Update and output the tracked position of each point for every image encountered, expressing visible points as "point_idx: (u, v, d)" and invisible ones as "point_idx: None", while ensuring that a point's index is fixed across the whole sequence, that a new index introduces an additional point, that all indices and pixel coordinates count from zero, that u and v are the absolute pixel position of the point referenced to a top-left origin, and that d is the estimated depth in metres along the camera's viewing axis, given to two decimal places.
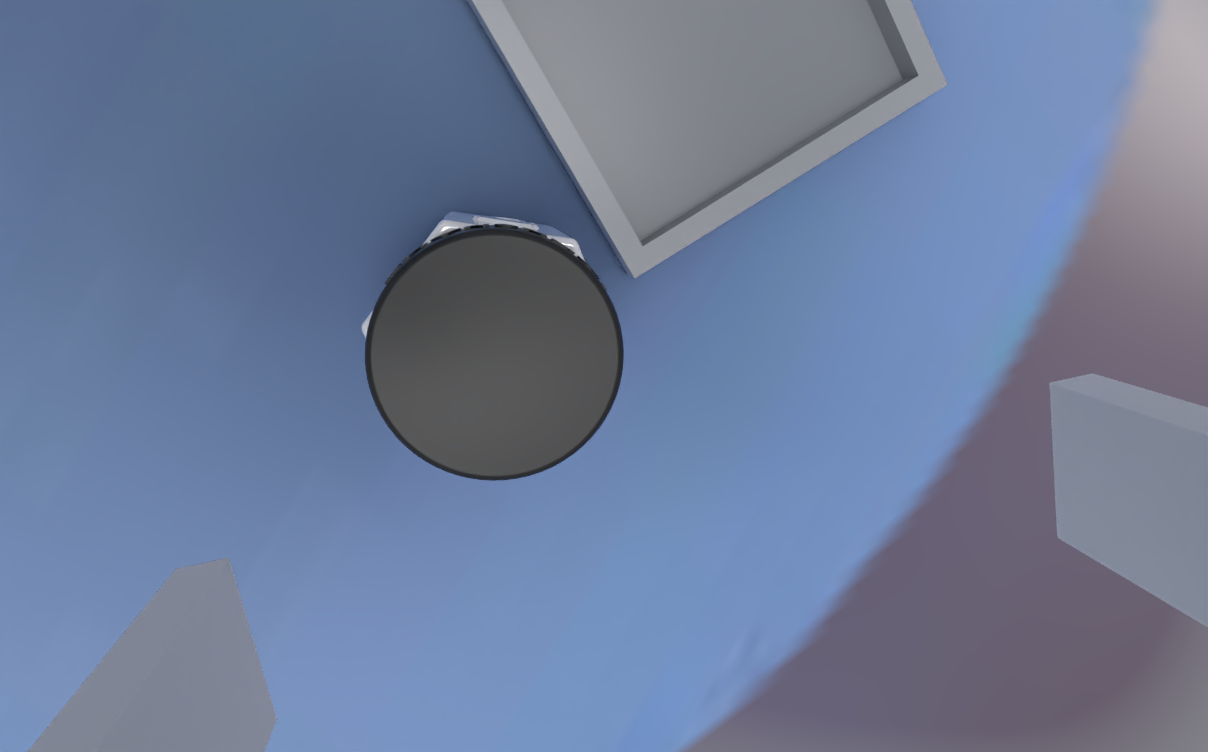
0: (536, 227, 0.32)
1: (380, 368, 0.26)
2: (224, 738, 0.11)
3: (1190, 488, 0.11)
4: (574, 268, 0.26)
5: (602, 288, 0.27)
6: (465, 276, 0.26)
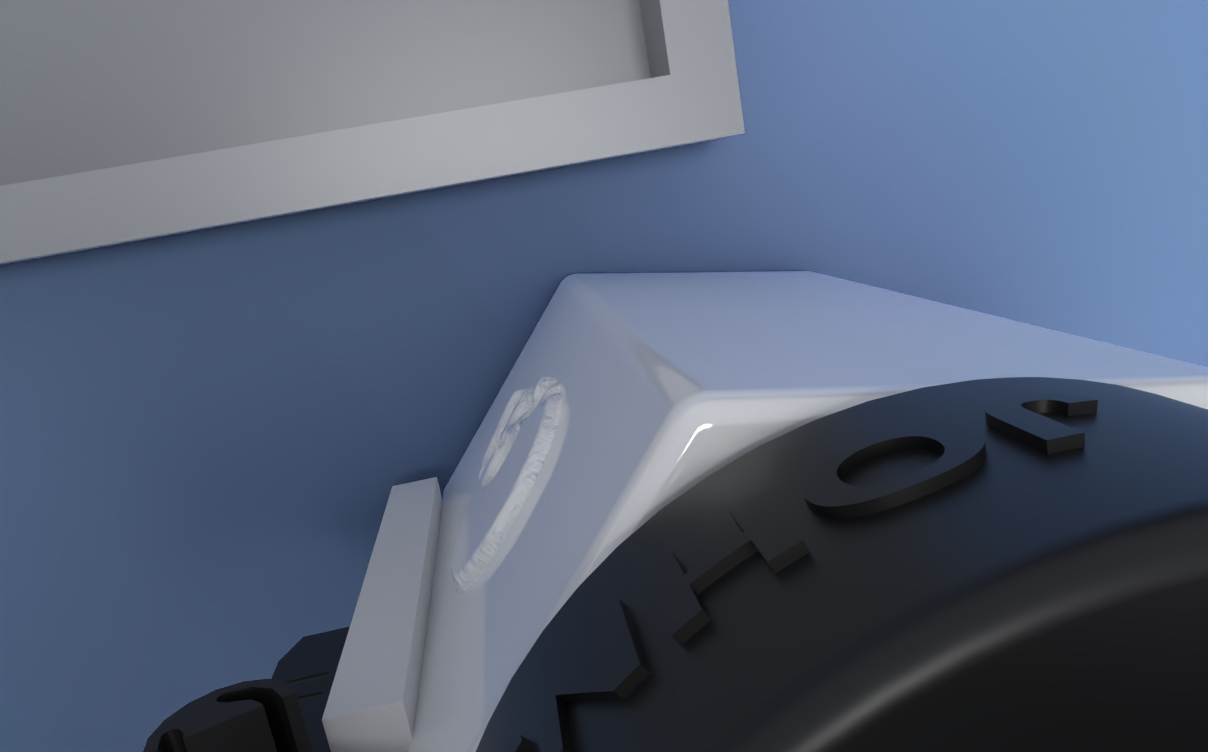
0: (556, 410, 0.09)
1: None
2: None
3: None
4: (963, 695, 0.03)
5: (1173, 536, 0.04)
6: None
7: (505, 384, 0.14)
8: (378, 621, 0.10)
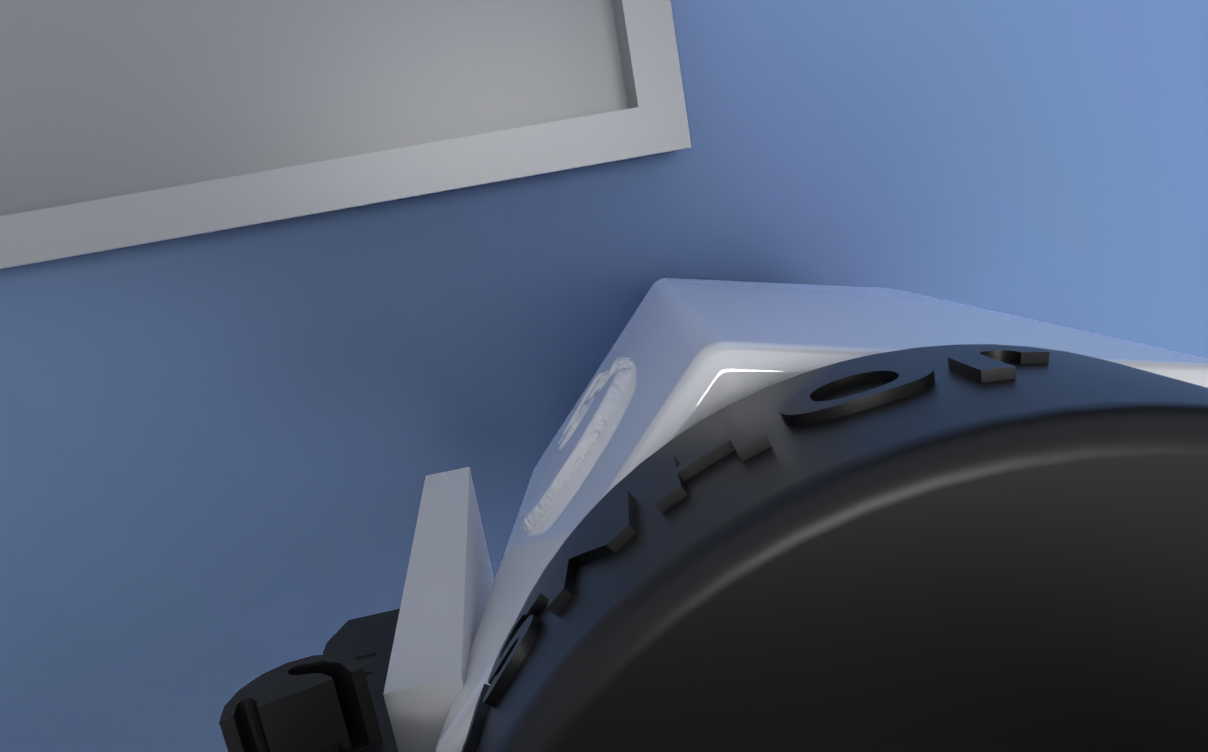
0: (623, 380, 0.10)
1: None
2: None
3: None
4: (856, 536, 0.04)
5: (1044, 428, 0.04)
6: None
7: (595, 375, 0.16)
8: (427, 602, 0.10)
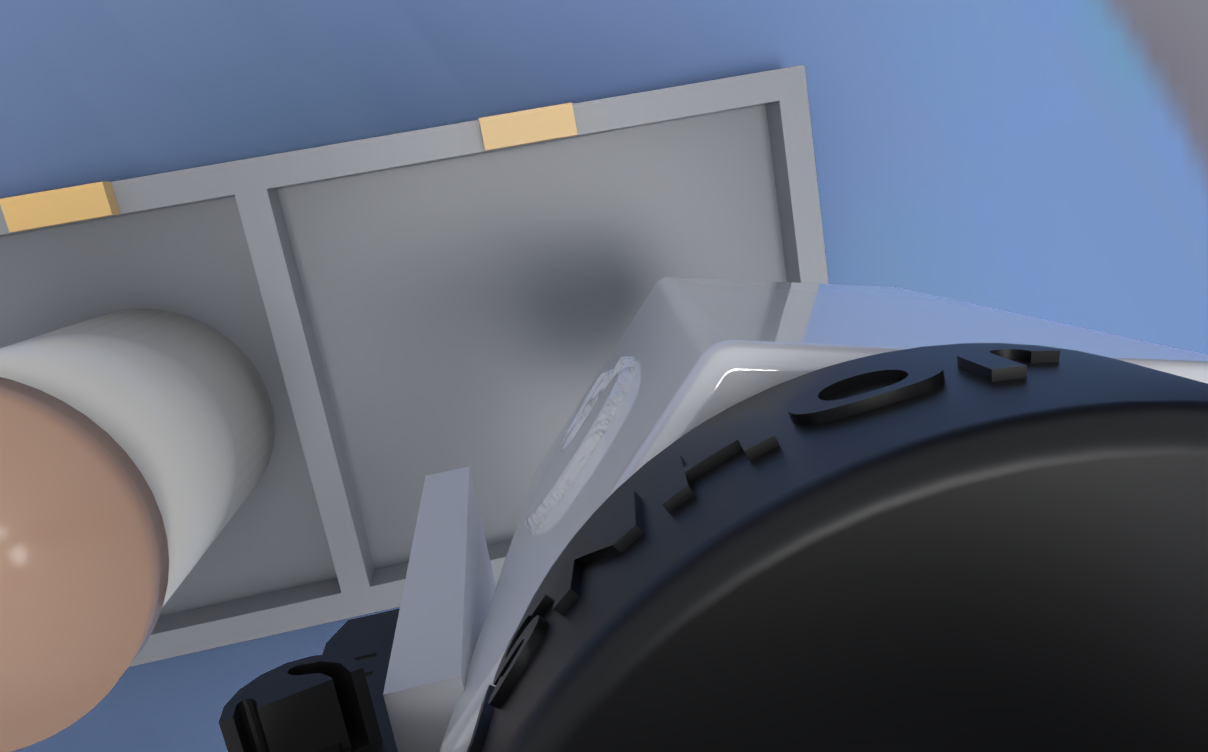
0: (627, 379, 0.10)
1: None
2: None
3: None
4: (867, 536, 0.04)
5: (1056, 427, 0.04)
6: None
7: (598, 374, 0.16)
8: (427, 602, 0.10)
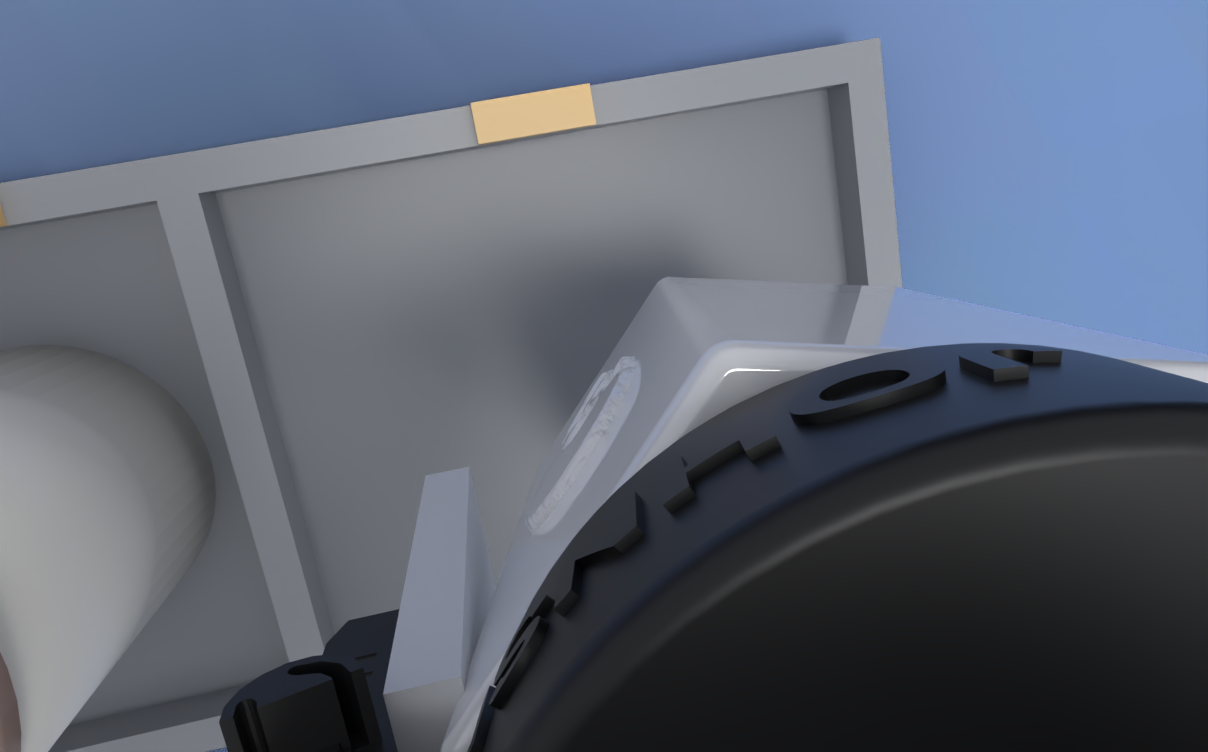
0: (627, 379, 0.10)
1: None
2: None
3: None
4: (869, 537, 0.04)
5: (1059, 428, 0.04)
6: None
7: (598, 374, 0.16)
8: (427, 602, 0.10)
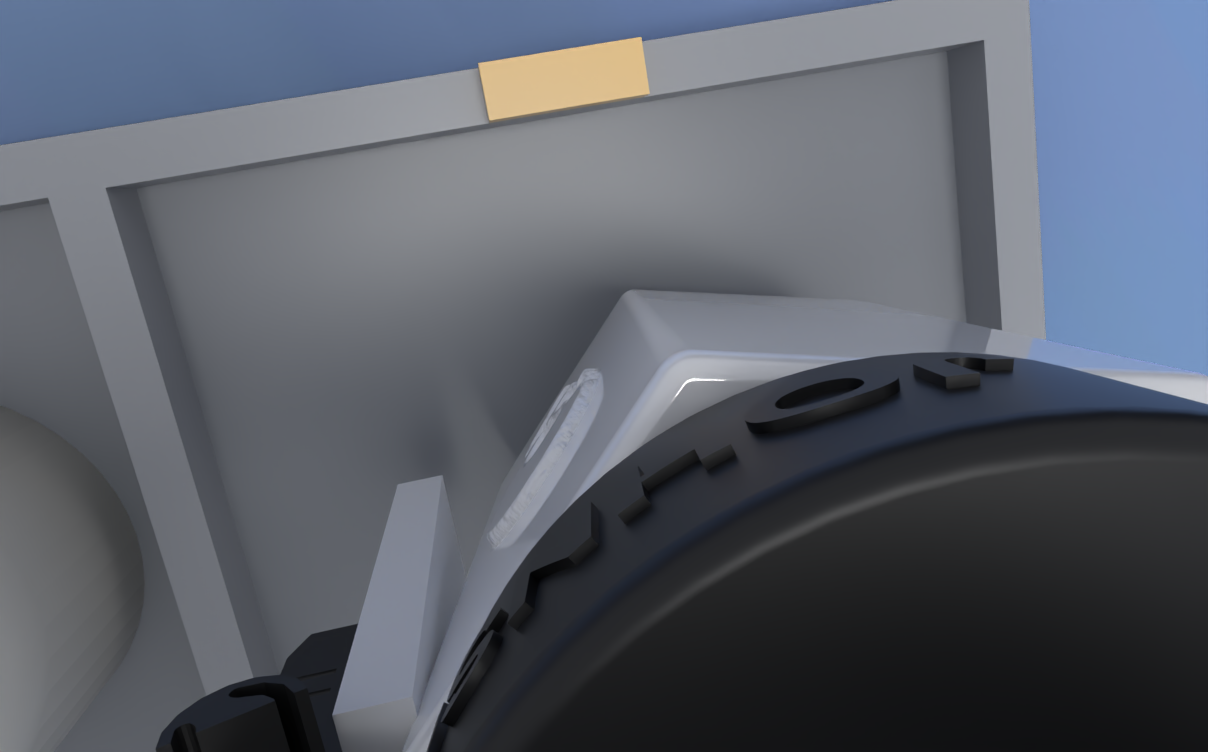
0: (589, 391, 0.10)
1: None
2: None
3: None
4: (821, 545, 0.04)
5: (1008, 433, 0.04)
6: None
7: (563, 387, 0.16)
8: (386, 618, 0.10)
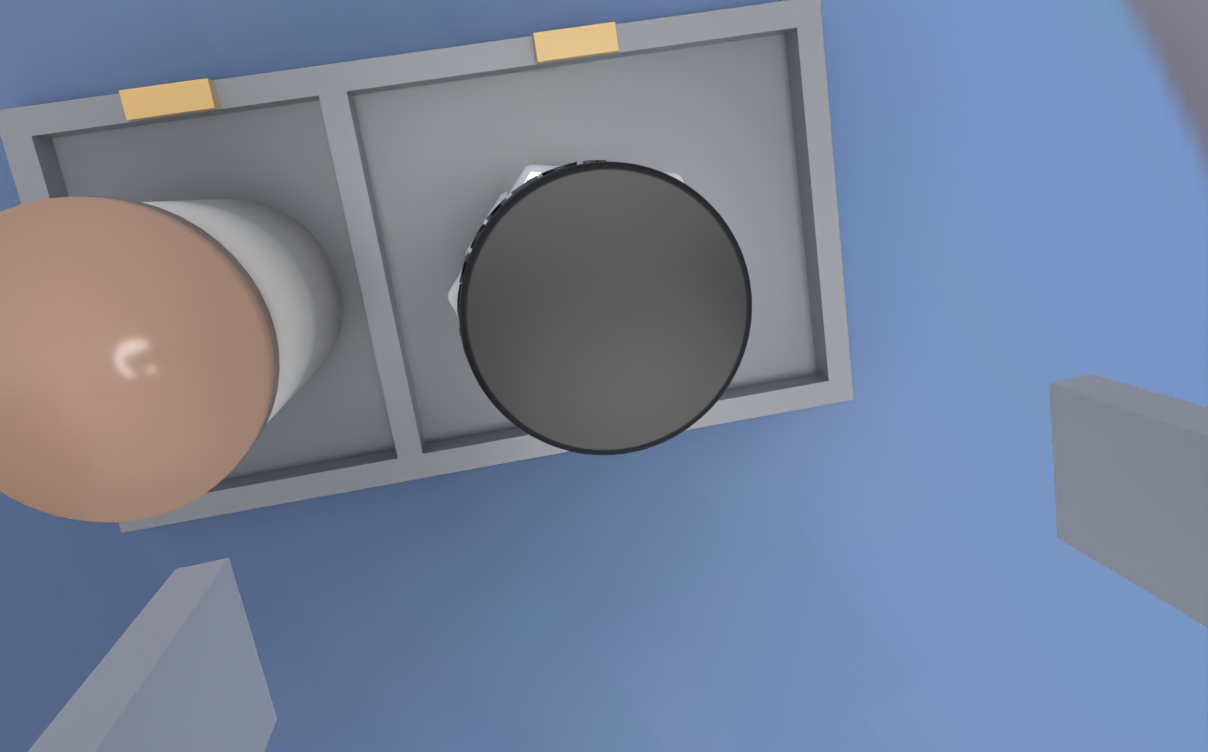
0: (503, 195, 0.28)
1: (562, 434, 0.24)
2: (224, 738, 0.11)
3: (1190, 488, 0.11)
4: (550, 186, 0.22)
5: (586, 165, 0.22)
6: (507, 306, 0.23)
7: None
8: None
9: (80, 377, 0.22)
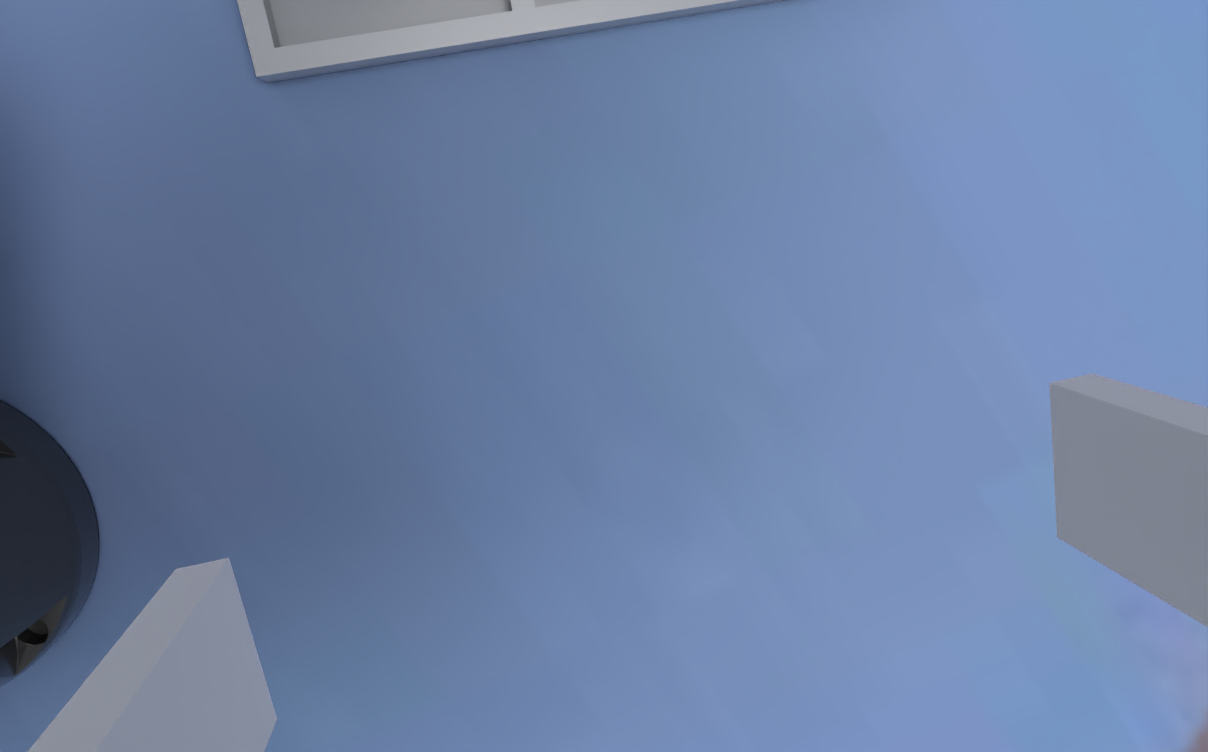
0: None
1: None
2: (224, 738, 0.11)
3: (1191, 488, 0.11)
4: None
5: None
6: None
7: None
8: None
9: None
